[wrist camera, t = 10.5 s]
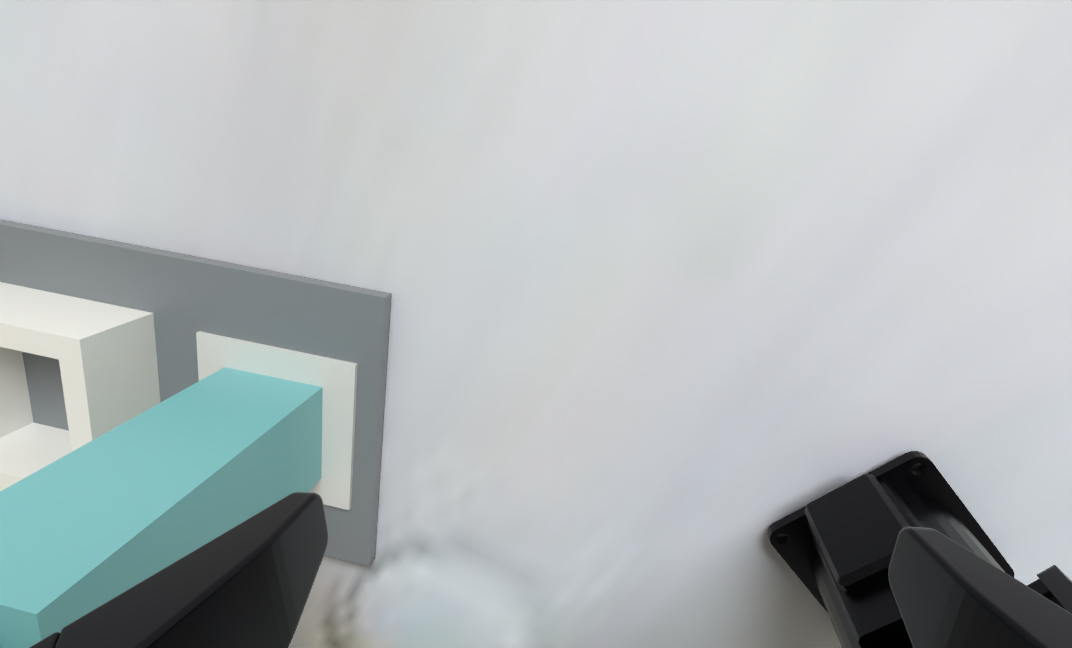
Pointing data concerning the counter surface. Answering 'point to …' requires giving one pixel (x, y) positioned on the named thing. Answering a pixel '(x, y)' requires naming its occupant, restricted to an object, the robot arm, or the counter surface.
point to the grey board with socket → (183, 354)
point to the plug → (151, 495)
